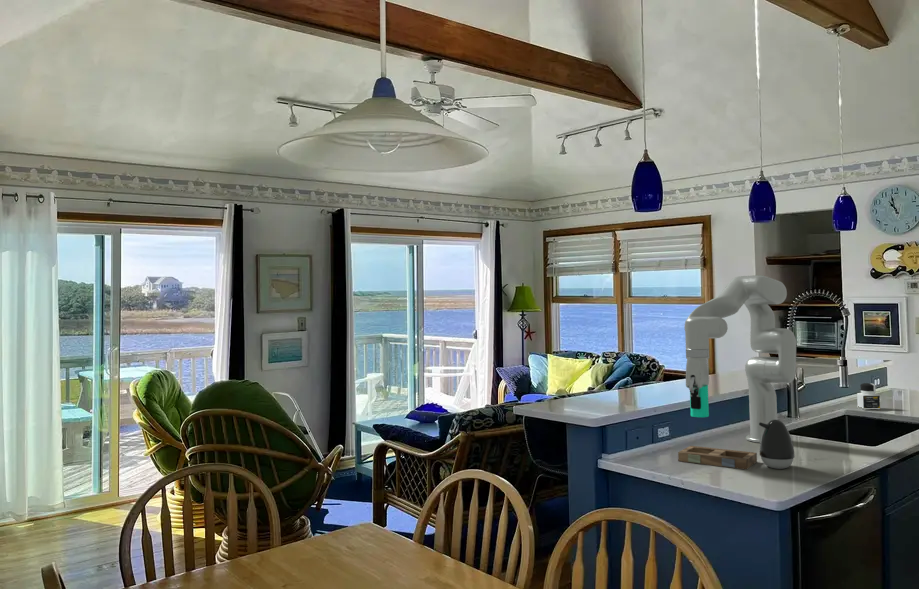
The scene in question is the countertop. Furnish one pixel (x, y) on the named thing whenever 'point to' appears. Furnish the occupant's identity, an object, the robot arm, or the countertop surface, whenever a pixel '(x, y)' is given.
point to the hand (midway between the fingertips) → (699, 406)
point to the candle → (704, 404)
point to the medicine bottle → (868, 396)
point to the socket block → (718, 457)
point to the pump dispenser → (776, 445)
